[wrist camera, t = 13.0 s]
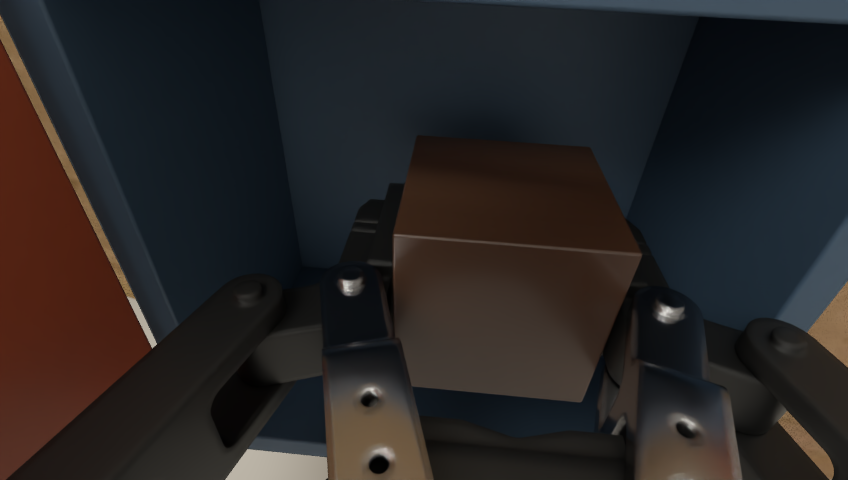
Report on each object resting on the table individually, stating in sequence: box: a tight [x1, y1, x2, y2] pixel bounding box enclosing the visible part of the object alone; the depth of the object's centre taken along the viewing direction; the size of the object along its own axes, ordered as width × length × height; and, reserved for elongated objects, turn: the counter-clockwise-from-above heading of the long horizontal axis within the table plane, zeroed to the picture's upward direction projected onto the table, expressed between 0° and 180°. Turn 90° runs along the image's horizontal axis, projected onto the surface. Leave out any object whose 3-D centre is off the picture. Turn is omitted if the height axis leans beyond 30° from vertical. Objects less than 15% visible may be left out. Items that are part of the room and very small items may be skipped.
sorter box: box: [0, 0, 848, 457], centre depth 13 cm, size 15×14×9 cm
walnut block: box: [392, 135, 642, 402], centre depth 11 cm, size 4×4×4 cm
